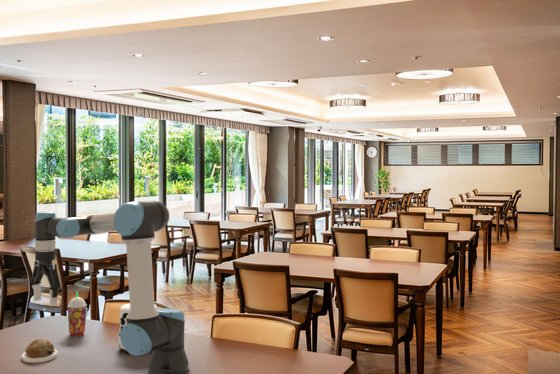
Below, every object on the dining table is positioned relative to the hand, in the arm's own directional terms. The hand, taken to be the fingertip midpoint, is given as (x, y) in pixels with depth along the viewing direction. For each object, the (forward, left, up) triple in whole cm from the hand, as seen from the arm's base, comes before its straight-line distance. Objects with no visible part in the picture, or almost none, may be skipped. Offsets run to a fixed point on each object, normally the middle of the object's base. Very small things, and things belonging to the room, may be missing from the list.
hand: (45, 303), depth 225 cm
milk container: (-18, -32, -22) cm, 43 cm away
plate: (+1, +2, -22) cm, 22 cm away
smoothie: (+19, -24, -22) cm, 38 cm away
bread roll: (+1, +2, -21) cm, 21 cm away
